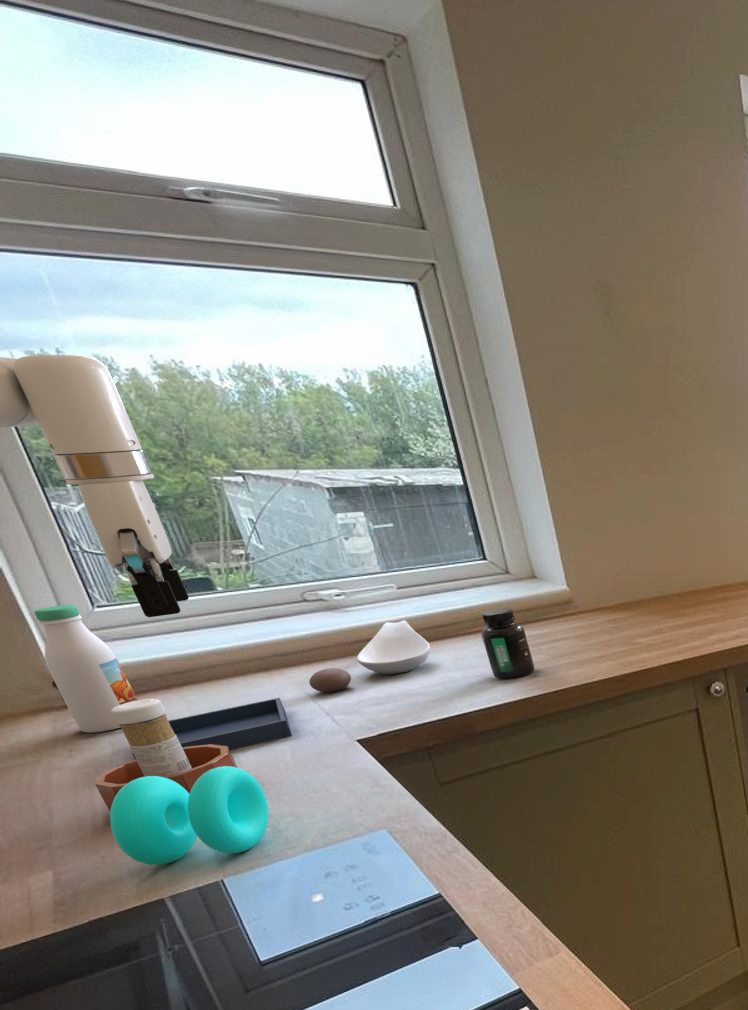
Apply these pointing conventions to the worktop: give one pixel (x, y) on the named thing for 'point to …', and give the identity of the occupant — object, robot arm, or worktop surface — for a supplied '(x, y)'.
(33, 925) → the worktop surface
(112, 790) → the bowl
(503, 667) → the supplement bottle
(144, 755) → the sprinkles bottle
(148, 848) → the donuts
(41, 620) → the milk bottle
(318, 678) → the egg
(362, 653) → the spoon rest
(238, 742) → the tray
